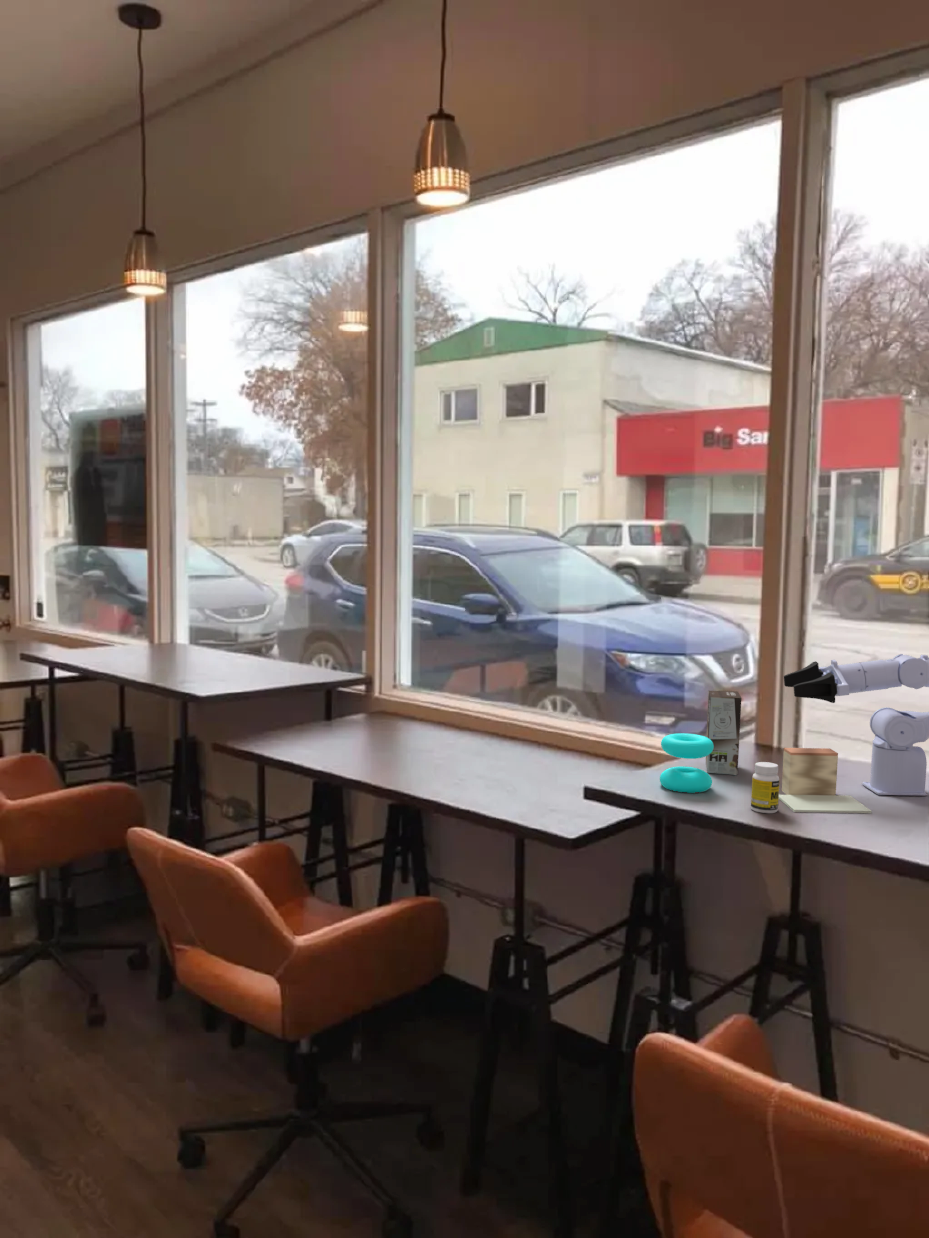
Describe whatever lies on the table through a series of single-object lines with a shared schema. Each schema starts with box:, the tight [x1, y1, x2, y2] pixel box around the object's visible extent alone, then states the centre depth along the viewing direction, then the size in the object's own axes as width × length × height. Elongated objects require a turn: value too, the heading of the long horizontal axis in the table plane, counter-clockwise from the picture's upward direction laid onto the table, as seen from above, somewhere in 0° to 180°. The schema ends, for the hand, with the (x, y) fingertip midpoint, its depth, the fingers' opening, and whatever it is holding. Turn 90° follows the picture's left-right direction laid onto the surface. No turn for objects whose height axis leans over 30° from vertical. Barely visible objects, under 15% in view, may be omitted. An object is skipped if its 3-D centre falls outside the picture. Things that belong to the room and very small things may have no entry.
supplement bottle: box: [750, 761, 780, 814], centre depth 179 cm, size 5×5×8 cm
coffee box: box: [705, 690, 742, 776], centre depth 208 cm, size 9×6×16 cm
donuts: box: [659, 732, 714, 794], centre depth 193 cm, size 10×10×10 cm
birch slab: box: [781, 747, 839, 795], centre depth 190 cm, size 9×4×8 cm, turn 90°
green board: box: [778, 794, 873, 814], centre depth 183 cm, size 14×10×1 cm
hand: (789, 686), depth 193 cm, fingers open, 7 cm apart
